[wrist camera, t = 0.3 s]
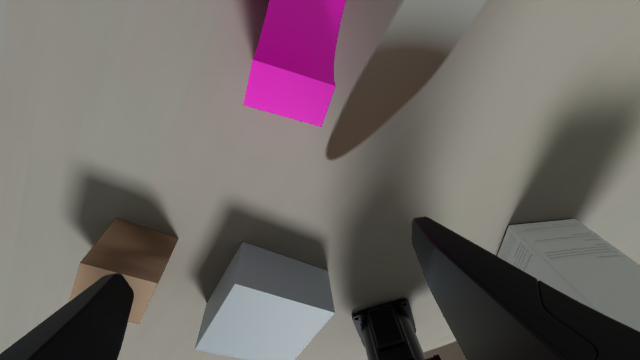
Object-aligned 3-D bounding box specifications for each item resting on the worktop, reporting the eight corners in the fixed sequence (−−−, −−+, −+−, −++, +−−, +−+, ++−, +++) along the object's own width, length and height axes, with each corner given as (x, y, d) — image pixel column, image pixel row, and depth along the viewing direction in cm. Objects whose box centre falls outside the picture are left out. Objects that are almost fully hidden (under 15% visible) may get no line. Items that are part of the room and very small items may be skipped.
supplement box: (487, 276, 33) (589, 410, 22) (507, 222, 29) (642, 352, 18) (549, 270, 33) (679, 397, 22) (577, 216, 30) (749, 338, 19)
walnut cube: (178, 237, 26) (157, 283, 22) (161, 275, 28) (139, 324, 23) (116, 217, 24) (79, 262, 20) (102, 258, 26) (67, 308, 22)
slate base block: (327, 268, 30) (334, 312, 26) (286, 321, 33) (286, 368, 29) (242, 239, 27) (235, 283, 23) (207, 301, 30) (194, 349, 26)
